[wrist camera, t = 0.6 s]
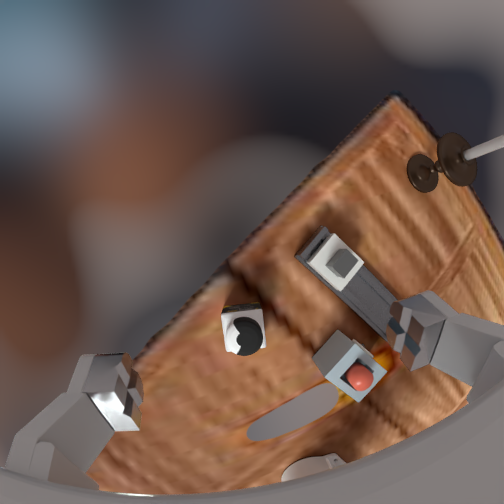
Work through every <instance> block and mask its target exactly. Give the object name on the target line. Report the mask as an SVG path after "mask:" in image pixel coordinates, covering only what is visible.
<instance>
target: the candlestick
mask: <svg viewBox="0 0 504 504" xmlns="http://www.w3.org/2000/svg"><path fill="white" fill-rule="evenodd" d="M502 147H504V135H502V136H500V137H497V138H495V139H492V140H490V141H488V142H485V143H483V144H480V145H478V146H476V147H474V148H471V146H470V145H469V143H468V142H467V141H466V140H465V139H464V138H463V137H462V136H460V135H458V134H457V133H447V134H445V135H443V136H442V137H441V138H440V139H439V141H438V144H437V157H438V160H437V161H436V162H435V164H434V163H433V162H432V160H431V159H430V158H428V157H427V156H425V155H422V154H418V155H415V156H413V157H412V158H410V160H409V161H408V164H407V175H408V178H409V180H410V182H411V184H412V185H413V186H414V188H416V189H417V190H418V191H420V192H423V193H427V192H431V191H433V190H434V189H435V188H436V186H437V184H438V172H440V173H444V174H445V176H446V177H447V178H448V179H449V180H450V181H451V182H452V183H453V184H455V185H457V186H462V187H463V186H467V185H470V184H472V182H473V181H474V180H475V178H476V175H477V162H476V157H478V156H481V155H484V154H486V153H489V152H492V151H494V150H497V149H500V148H502Z"/></svg>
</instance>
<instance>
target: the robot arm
mask: <svg viewBox="0 0 504 504" xmlns="http://www.w3.org/2000/svg"><path fill="white" fill-rule="evenodd" d="M389 313H390V314H391V316H392V318H391V319H390V321H389V322H388V323H387V328H386V335H387V340H388V343H389V345H390V346H391V348H392V349H393V350H395V351H397V352H399V353H400V359H401V361H402V362H403V363H404V364H405V366H406V367H407V368H408V369H409V371H410V372H411V371H413V370H416V369H418V368H421V367H423V366H425V365H428V364H430V365H432V366H434V367H435V368H437V369H439V370H441V371H443V372H445V373H447V374H449V375H451V376H453V377H455V378H456V379H458V380H460V381H462V382H464V383H466V384H468V385H470V386H472V389H471V390H470V392H469V394H468V395H467V399H466V400H467V401H468V403H469V404H467V405H466V406H464V407H463V408H461V409H460V410H458V411H456V412H455V413H453V414H451V415H450V416H448V417H446V418H445V419H443V420H441V421H440V422H438V423H436V424H434V425H432V426H431V427H429V428H427V429H425V430H423V431H421V432H419V433H417V434H415V435H413V436H411V437H409V438H407V439H405V440H403V441H401V442H399V443H397V444H394V445H392V446H390V447H388V448H385V449H383V450H381V451H378V452H376V453H373V454H371V455H368V456H366V457H363V458H361V459H358V460H355V461H352V462H350V463H346V462H345V461H344V460H342V459H341V458H340V457H339V456H338V455H337V454H336V453H332V454H328V455H325V456H320V457H309V458H305V459H302V460H299V461H297V462H295V463H293V464H292V465H290V466H289V467H288V468H287V469H286V470H285V471H284V473H283V475H282V482H278V483H274V484H269V485H263V486H258V487H252V488H245V489H238V490H231V491H222V492H212V493H198V494H174V495H155V494H131V493H118V492H108V491H100V490H99V485H98V484H97V482H96V481H94V480H93V479H92V478H91V477H89V476H88V475H87V474H86V472H87V470H88V469H89V467H90V466H91V465H92V463H93V462H94V460H95V459H96V458H97V456H98V455H99V454H100V452H101V451H102V449H103V448H104V447H105V445H106V444H107V443H108V441H109V440H110V438H111V437H112V436H113V434H114V433H115V432H114V431H135V430H140V424H141V415H142V413H141V411H140V409H139V408H138V406H139V405H140V404H141V403H142V402H143V396H144V392H143V384H142V381H141V378H140V376H139V374H138V372H136V371H135V370H133V369H132V364H133V361H132V359H131V358H130V356H129V354H128V353H109V354H92V355H83V356H81V357H80V358H79V361H78V364H77V366H76V369H75V371H74V374H73V377H72V379H71V382H70V385H69V387H68V390H67V393H62V394H61V395H60V396H58V397H57V398H56V399H55V400H54V401H53V402H52V403H50V404H49V405H48V406H47V407H46V408H45V409H44V410H43V411H41V412H40V413H39V414H38V415H37V416H36V417H35V418H34V419H32V421H30V422H29V423H28V424H27V425H26V426H25V427H24V428H22V429H21V430H20V431H19V432H18V433H17V434H16V435H15V437H14V440H13V443H12V446H11V450H10V453H9V456H8V459H7V462H6V466H5V468H3V467H0V504H504V325H501V324H497V323H494V322H491V321H487V320H484V319H481V318H477V317H474V316H471V315H468V314H464V313H461V314H459V313H457V312H456V311H455V310H454V309H453V308H452V307H450V306H449V305H448V304H447V303H446V302H445V301H443V300H442V299H441V298H440V297H439V296H438V295H436V294H435V293H434V292H433V291H429V290H427V291H425V292H422V293H419V294H417V295H414V296H410V297H407V298H404V299H401V300H398V301H394V302H393V303H392V305H391V307H390V312H389Z"/></svg>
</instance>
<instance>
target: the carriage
mask: <svg viewBox="0 0 504 504" xmlns="http://www.w3.org/2000/svg"><path fill="white" fill-rule="evenodd" d="M307 263H308V264H309V265H310V266H311V267H312V268H313V269H314V270H315V271H316V272H318V273H319V274H320V275H321V276H322V277H323V278H324V279H325V280H326V281H327V282H328V283H330V284H331V285H332V286H333V287H334V288H335V289H336V290H339V291H342V290H343V288H344V287H345V286H346V285H347V284H348V282H349V281H350V280H351V279H352V277H353V276H354V275H355V274H356V272H357V271H358V270H359V269H360V267H361V266H362V265H363V263H364V262H363V261H362V260H361V259H360V258H359V257H358V256H357V255H356V254H355V253H354V252H353V251H352V250H351V249H350V248H349V247H348V246H347V245H346V244H345V243H344V242H343V241H342V240H341V239H340V238H339V237H338V236H337V235H336V234H335V233H333V234H329V235H328V237H327V238H326V239H325V240H324V241H323V243H322V244H321V245H320V246H319V247H318V249H317V250H316V251H315V252H314V253H313V255H312V256H311V257H310V258H309V259H308V260H307Z"/></svg>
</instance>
